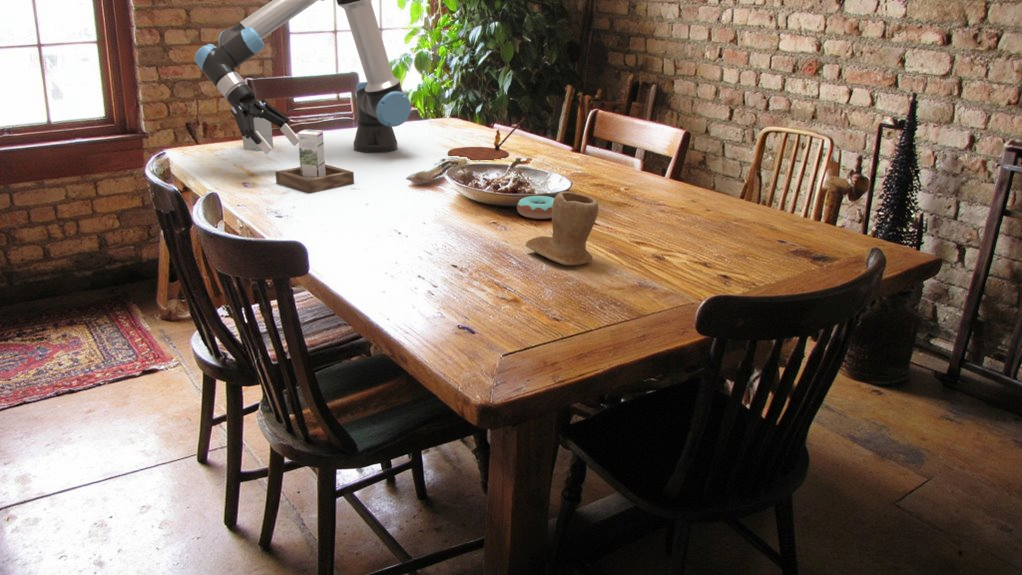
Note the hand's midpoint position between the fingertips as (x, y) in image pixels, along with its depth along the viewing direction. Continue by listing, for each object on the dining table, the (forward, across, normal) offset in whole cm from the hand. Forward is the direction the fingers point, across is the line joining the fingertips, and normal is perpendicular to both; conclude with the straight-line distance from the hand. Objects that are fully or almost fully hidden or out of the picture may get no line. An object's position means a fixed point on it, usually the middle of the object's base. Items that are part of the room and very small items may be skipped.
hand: (283, 147), depth 248 cm
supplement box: (-18, -33, -32) cm, 49 cm away
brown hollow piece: (+77, +33, +63) cm, 104 cm away
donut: (+65, +2, +50) cm, 82 cm away
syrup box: (+14, 0, +1) cm, 14 cm away
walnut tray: (+14, 0, 0) cm, 14 cm away
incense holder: (+35, -62, +21) cm, 74 cm away
